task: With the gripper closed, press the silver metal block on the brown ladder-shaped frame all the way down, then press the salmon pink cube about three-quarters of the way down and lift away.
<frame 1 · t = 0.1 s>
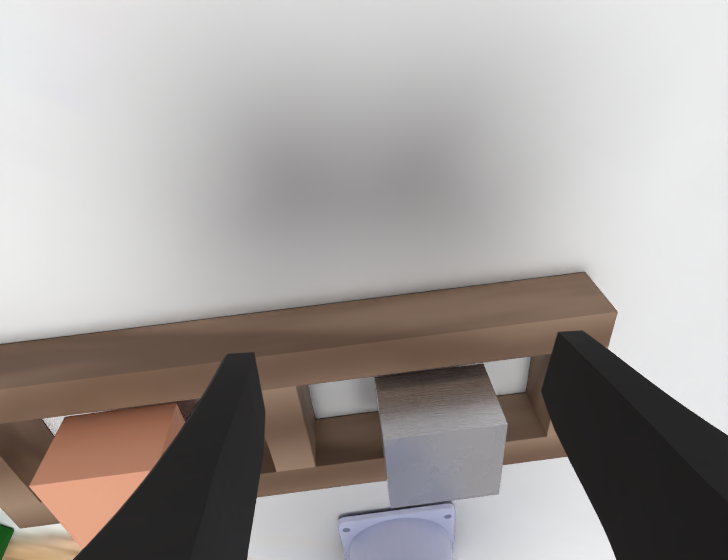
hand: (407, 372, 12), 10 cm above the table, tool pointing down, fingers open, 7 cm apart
brown ladder-shaped frame: (288, 385, 26), on the table
silver metal block: (436, 436, 22), point 4 cm above the table, slide at 0.0 cm
salmon pink cube: (129, 475, 22), point 4 cm above the table, slide at 0.0 cm
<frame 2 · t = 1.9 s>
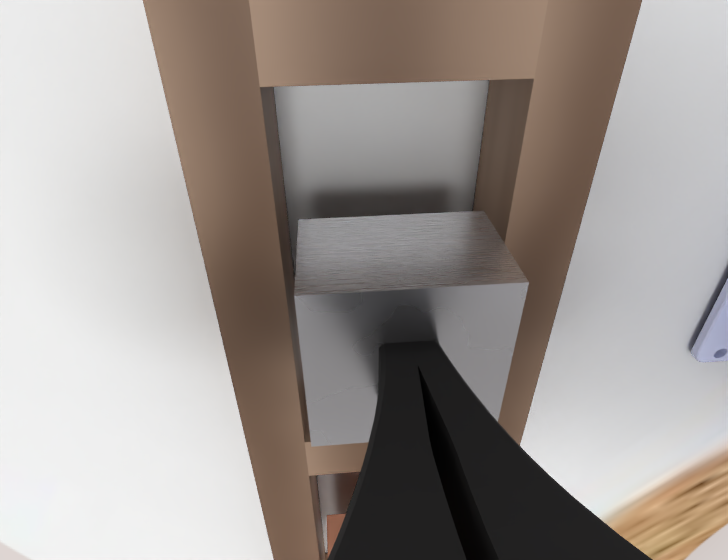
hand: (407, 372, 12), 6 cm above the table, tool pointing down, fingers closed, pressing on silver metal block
brown ladder-shaped frame: (379, 391, 20), on the table
silver metal block: (398, 327, 13), point 4 cm above the table, slide at 0.2 cm, touching gripper
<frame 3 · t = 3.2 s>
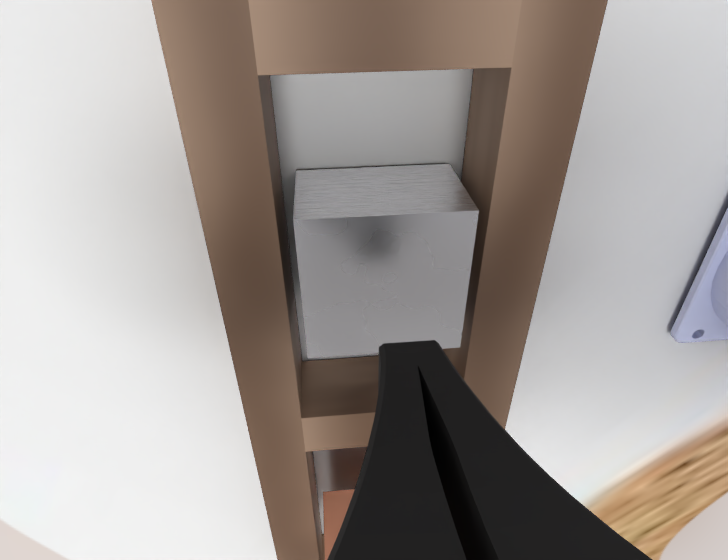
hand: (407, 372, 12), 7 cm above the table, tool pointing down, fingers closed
brown ladder-shaped frame: (372, 372, 21), on the table
silver metal block: (379, 260, 16), point 2 cm above the table, slide at 2.5 cm
salmon pink cube: (383, 553, 22), point 4 cm above the table, slide at 0.0 cm
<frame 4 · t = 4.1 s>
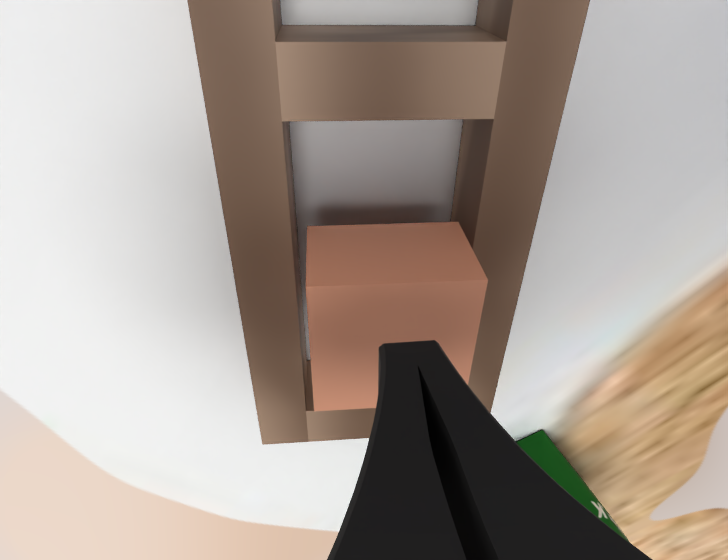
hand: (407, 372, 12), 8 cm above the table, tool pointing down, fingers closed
brown ladder-shaped frame: (379, 60, 16), on the table
salmon pink cube: (386, 315, 16), point 4 cm above the table, slide at 0.0 cm
milk carton: (511, 477, 30), on the table
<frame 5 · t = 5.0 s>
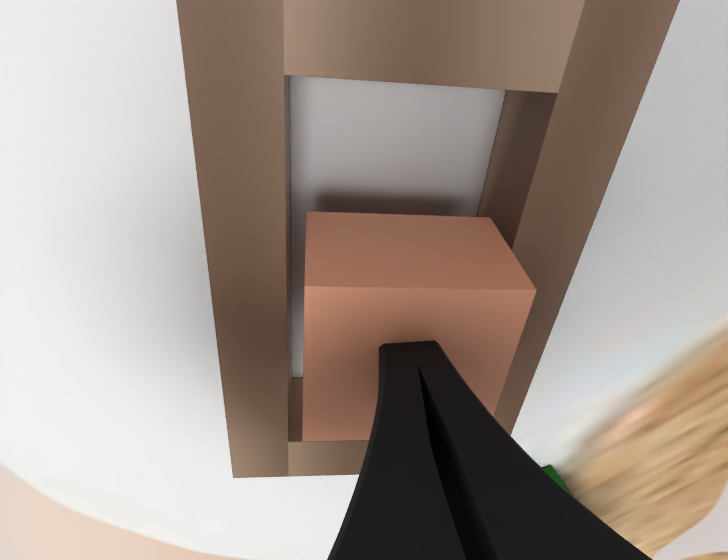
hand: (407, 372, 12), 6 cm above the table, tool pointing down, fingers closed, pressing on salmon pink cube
brown ladder-shaped frame: (409, 14, 12), on the table
salmon pink cube: (398, 327, 13), point 4 cm above the table, slide at 0.4 cm, touching gripper
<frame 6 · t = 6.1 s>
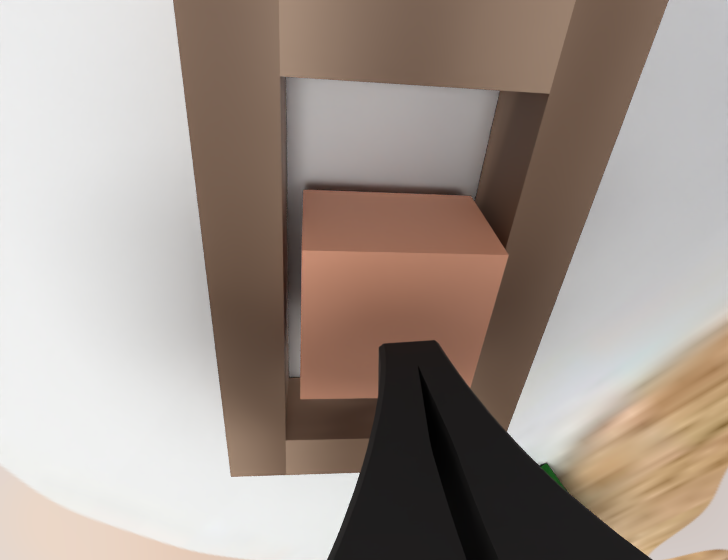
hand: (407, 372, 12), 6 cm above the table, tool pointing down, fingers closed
brown ladder-shaped frame: (403, 16, 13), on the table
salmon pink cube: (387, 295, 14), point 3 cm above the table, slide at 1.7 cm
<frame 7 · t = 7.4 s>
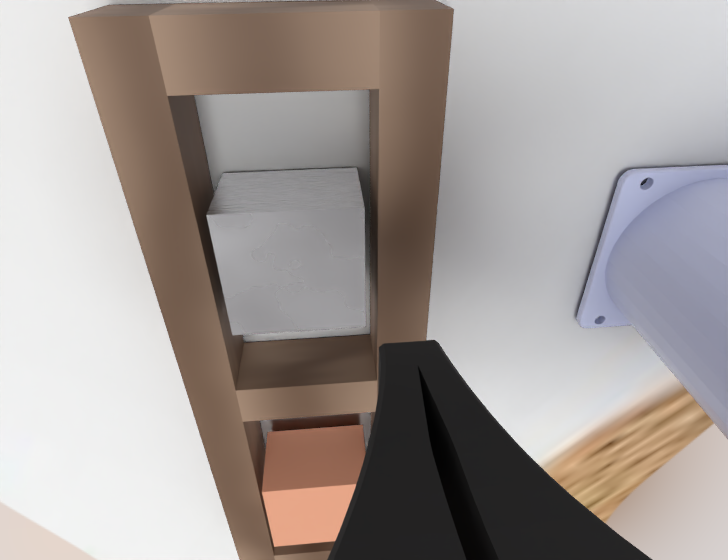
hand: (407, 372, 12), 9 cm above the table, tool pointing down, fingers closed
brown ladder-shaped frame: (309, 354, 24), on the table
silver metal block: (295, 250, 18), point 2 cm above the table, slide at 2.5 cm
salmon pink cube: (318, 485, 26), point 3 cm above the table, slide at 1.7 cm
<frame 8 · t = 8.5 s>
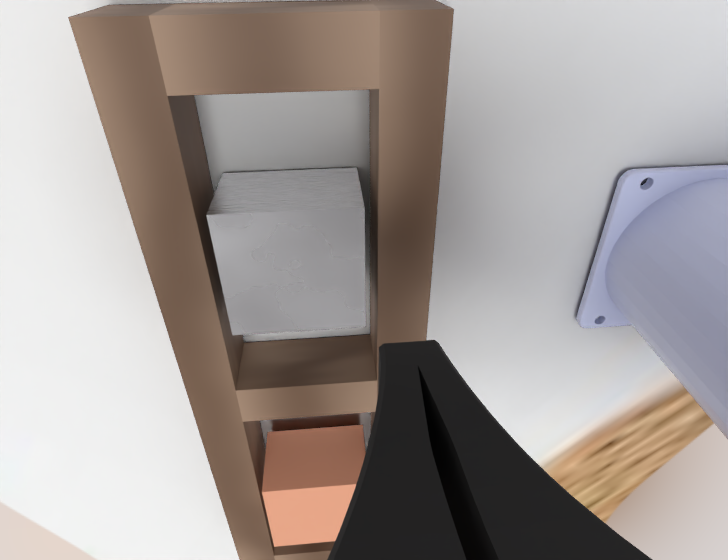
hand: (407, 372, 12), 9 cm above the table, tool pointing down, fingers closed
brown ladder-shaped frame: (309, 354, 24), on the table
silver metal block: (295, 250, 18), point 2 cm above the table, slide at 2.5 cm
salmon pink cube: (318, 485, 26), point 3 cm above the table, slide at 1.7 cm
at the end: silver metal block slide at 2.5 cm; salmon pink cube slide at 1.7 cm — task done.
